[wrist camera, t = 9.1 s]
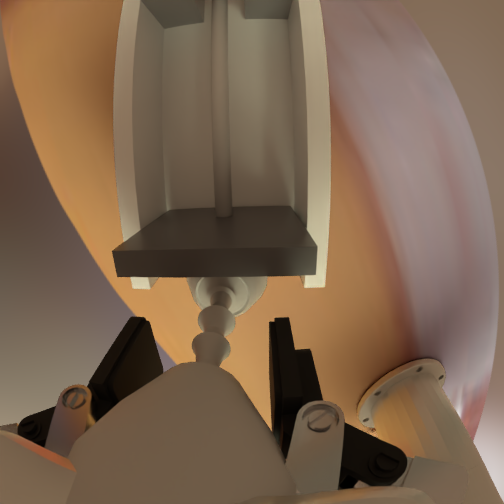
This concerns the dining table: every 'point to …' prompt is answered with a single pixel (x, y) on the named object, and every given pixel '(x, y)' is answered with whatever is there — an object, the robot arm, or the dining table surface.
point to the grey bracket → (240, 113)
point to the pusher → (220, 213)
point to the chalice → (186, 425)
